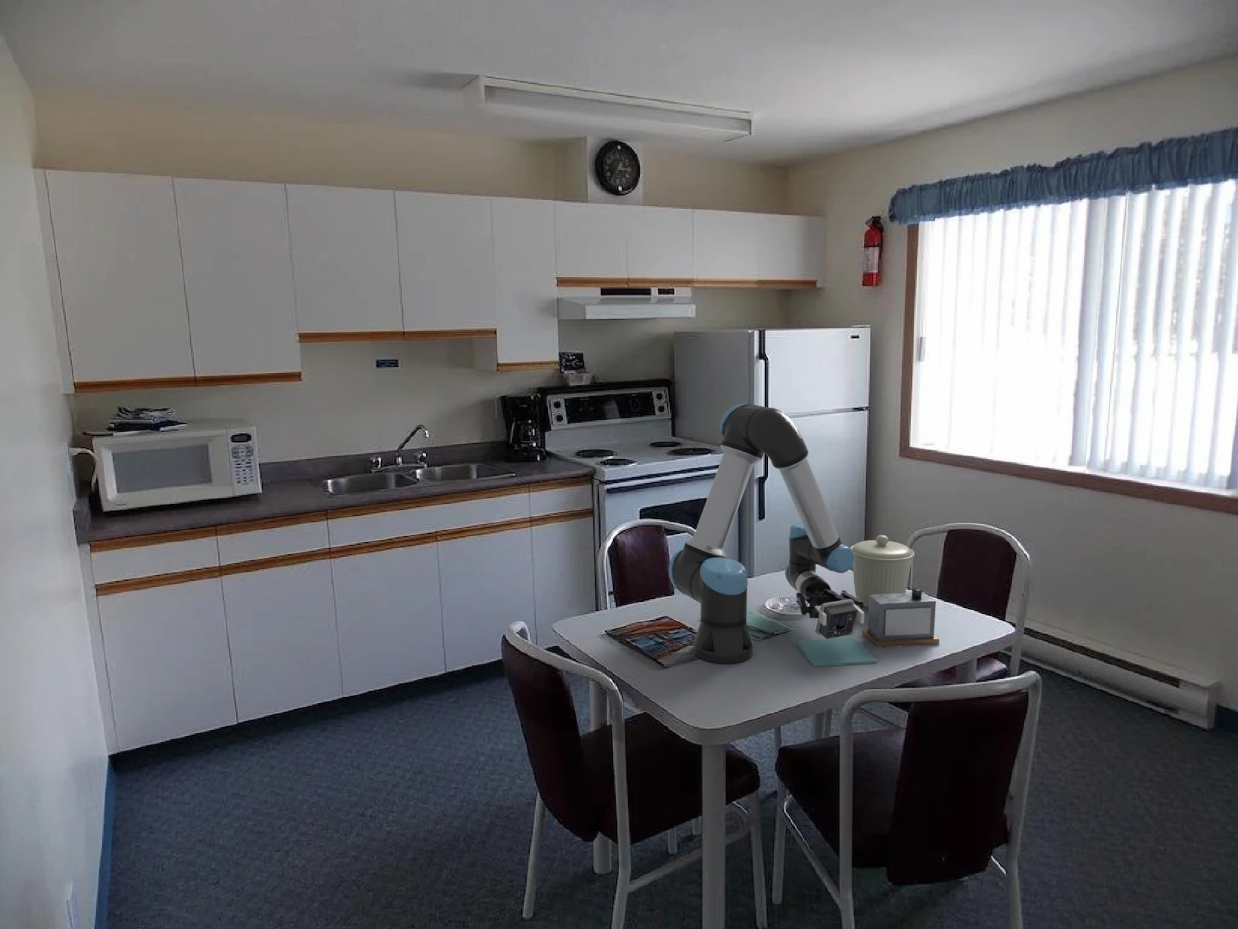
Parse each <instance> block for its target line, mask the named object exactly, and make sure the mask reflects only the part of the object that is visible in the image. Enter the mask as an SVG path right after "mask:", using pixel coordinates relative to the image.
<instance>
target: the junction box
mask: <svg viewBox="0 0 1238 929" xmlns="http://www.w3.org/2000/svg"><path fill="white" fill-rule="evenodd" d="M936 603H937V601H936V600H935V599H933V598H932V597H931V596H929V595H928V594H927V593H925V592H924V591H923V590H922V589H921V588H916V587H915V588H911V592H906V593H895V594H874V595H869V605H868V607H867V608H868V610H867V628H862V629H861V635H862V634H863V635H862V636H863V637H864V638H865V639H866V638H867V639H868V640H867V639H866V640H867V641H868V642H869V643H870V644H871V645H872V644H873V645H874V646H875V647H876V649H877V648H878V647H882V648H895V647H897V648H899V647H898V646H901V647H916V645H919V646H933V645H932V644H936V645H937V644H938V645H940V638H939V637H938V636H936V635H935V623H936V621H935V620H936V619H935V618H936V605H937V604H936ZM873 645H872V646H873ZM936 645H935V646H936ZM874 646H873V647H874ZM875 647H874V648H875Z"/></svg>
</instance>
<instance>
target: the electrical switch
mask: <svg viewBox="0 0 1238 929" xmlns="http://www.w3.org/2000/svg"><path fill="white" fill-rule="evenodd" d="M819 608H820V610H822V611H823V612H824V613H825V614H826V615H827V617H826V626H823V625H822V624H821V623H820V621H819V620H818V619H817V622H816V627H815V631H814V632H815V633H816V634H817V636H819V635H821V636H823V637H824V639H832V638H841V637H845V636H850V635H852V633H853V630H854V626H855V622H856V615H857V611H858V610H857V609H856V608H855V607H854V601H853V600H852V599H847V600H841V601H835V602H829V603H823V604H822V605H821V606H820V607H819Z"/></svg>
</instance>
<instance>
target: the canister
mask: <svg viewBox="0 0 1238 929" xmlns="http://www.w3.org/2000/svg"><path fill="white" fill-rule="evenodd" d="M849 548H850V549H851V550H852V551H853V552H854V558H855V559H854V563H853V566H852V572H853V584H854V592H855V596H856V598H857V599H859V600H861V601H863V602H864V603H863V607H867V608H868V605H869V595H874V594H895V593H907V589H908V588H907V587H908V582H909V575H910V569H911V564H912V558H914V556H915V551H913V550H912V549H911V548H910V547H909V546H906V545H905V544H903V543H899V542H895V541H891V540H890V541H889V537H888V536H886V535H884V534H879V535H877V536H876V537H875V539H873V540H870V539H868V540H864V541H859V542H857V543H855V544H853V545H852V546H850V547H849Z"/></svg>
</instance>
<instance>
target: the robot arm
mask: <svg viewBox="0 0 1238 929" xmlns="http://www.w3.org/2000/svg"><path fill="white" fill-rule="evenodd" d="M719 431H720V435H721V437H722V441H721V443H720V449H721V451H722V457H721V460H720V462H719V466H718V468H717V470H716V474H715V476H714V479H713V483H712V485H711V488H710V490H709V493H708V496H707V499H706V501H705V504H704V507H703V509H702V513H701V515H700V518H699V520H698V523H697V527H696V528H695V532H694V533H693V536H692V537H691V538H690V539H688V540H686V541H685V542H684V545H683V547H682V549H680V550H678V552H676V553H674V555H673V556H672V557H671V559H670V560H669V564H668V577H669V579H670V582H671V584H672V585H673V586H674V587H675V588H676V589H677V590H678V591H679V592H680V593H681V594H683V595H685V596H688V597H689V598H690V599H693V600H694V601H696V602H697V603H699V604H700V622H699V625H698V629H697V632H696V634H695V638H694V640H693V653H694V652H695V653H694V654H696V655H695V656H696V657H697V658H699V659H701V660H703V661H705V662H706V661H707V662H709V663H712V664H713V663H714V664H723V665H724V664H726V665H727V664H730V665H731V664H736V663H742V662H746V661H747V660H749V659H750V658H752V656H753V654H754V644H753V643H754V642H753V639H752V636H751V634H750V631H749V628H748V623H747V615H748V614H747V613H748V612H747V611H748V610H747V608H748V604H747V603H748V602H747V601H748V585H749V582H748V580H749V579H748V573H747V570H746V567H745V566H744V565H743V564H742V563H741V562H739V561H737V560H734V559H731V558H729V559H728V558H727V554H726V552H725V550H724V548H725V545H726V542H727V539H728V537H729V534H730V531H731V528H732V526H733V523H734V520H735V517H736V515H737V512H738V509H739V506H740V504H741V501H742V498H743V495H744V493H745V490H746V487H747V484H748V483H749V479H750V476H751V473H752V470H753V468H754V466H755V465H756V464H758V463H759V462H760V463H761V461H762V460H763V457H764V455H766V456H767V458H769V461H770V462H771V464H772V466H773V467H774V468H775V469H778V470H779V473H780V475H781V477H782V479H783V482H784V484H785V487H786V488H787V491H788V493H789V495H790V498H791V500H792V502H793V505H794V507H795V509H796V511H797V514H798V516H799V519H800V521H801V522H799V523H794V524H792V525H791V526H790V528H789V537H788V542H789V548H788V549H789V558H788V559H789V561H788V564H787V565H786V568H785V570H784V577H785V579H786V580H787V582H788V584H789V585H790V586H791V587H792V588H793V589H794V590H795V591H796V595H795V597H796V599H795V602H796V604H798V606H799V609H800V614H801V615H802V616H806V615H807V614H808V617H809V619H817V621H818V620H819V621H820V623H821V624H822V625H823V626H826V617H827V615H826V614H825V613H824V612H823V611H822V610H820V608H821V605H822V604H823V603H829V602H835V601H841V600H847V599H852V600H853V601H854V607H855V608H856V609H857V610H858V611H857V615H856V618H855V620H857V621H858V622H859V623H860V624H864V623H865V612H864V605H863V603H864V602H863V601H861V600H859V599H857V597H855V596H854V595H852V594H850V593H848V591H847V590H843V589H842V590H841V591H840V592H838V593H837V592H836V591H834V590H832V588H831V586H830V584H829V582H827V581H826V580H824V578H822V577H821V575H819V574H818V573H817V565H818V566H820V567H822V568H824V569H827V570H829V571H831V572H835V573H838V574H844V573H847V572H849V570H850V569H851V568H853V563H854V559H855V558H854V552H853V551H852V550H851V549H850V547H848V546H847V545H846V544H843V543H842V540H841V538H840V536H839V533H838V531H837V528H836V526H835V524H834V521H833V519H832V516H831V514H830V511H829V508H828V507H827V503H826V502H825V499H824V496H823V494H822V492H821V490H820V487H819V484H818V482H817V480H816V477H815V475H814V473H813V470H812V468H811V466H810V463H809V460H808V457H809V454H810V453H809V449H808V447H807V445H806V442H805V440H804V438H803V436H802V435H801V432H800V430H799V429H798V427H797V426H796V425H795V423H794V421H793V420H792V419H791V417H790V416H788V415H787V414H786V413H785V412H783V411H782V410H781V409H777V408H775V407H769V406H768V407H767V406H762V405H757V404H752V403H741V404H736V405H734V406H731V408H729V409H727V410H726V412H725V413H724V415H723V416H722V418H721V420H720V425H719ZM807 604H809V606H807Z"/></svg>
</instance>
